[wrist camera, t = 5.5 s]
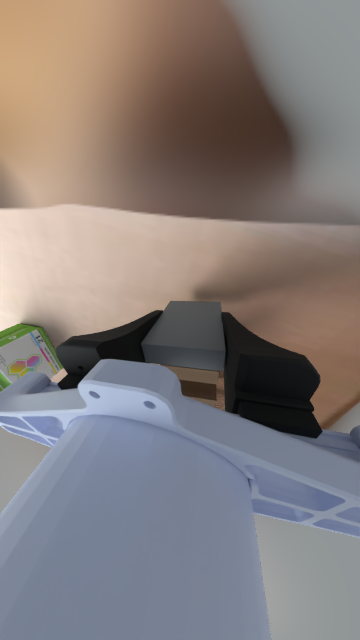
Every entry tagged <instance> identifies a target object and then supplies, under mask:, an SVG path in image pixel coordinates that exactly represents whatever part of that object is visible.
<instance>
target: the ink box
mask: <svg viewBox="0 0 360 640" xmlns="http://www.w3.org/2000/svg"><path fill="white" fill-rule="evenodd" d="M63 368H64V367H63V366H62V364H61V363H60V361H59V360H58V358H57V355H56V350H55V349H54V347H53V345H52V343H51V342H50V340H49V338H48V336H47V335H46V333H45V331H44V329H43V328H42V327H35V326H29V325H24V324H17V325H15V326H12V327H10V328H8V329H5V330H3V331H1V332H0V392H1V391H2V390H4V389H5V388H6V387H8V386H9V385H11V384H12V383H13V382H15V381H16V380H18V379H19V378H20V377H22V376H23V375H25V374H26V373H27V372H29V371H34V372H40V373H44V374H46V375H47V376H48V377H49V378H50V379H51V378H52V377H53V376H54V375H56V374H57V373H58V372H59V371H60V370H61V369H63Z"/></svg>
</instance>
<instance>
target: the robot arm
mask: <svg viewBox="0 0 360 640" xmlns="http://www.w3.org/2000/svg"><path fill="white" fill-rule="evenodd" d="M162 313H163V310H156V311H153V312H151V313H149V314H147V315H145V316H143V317H141V318H139V319H137V320H135V321H133V322H131V323H128V324H126V325H123V326H120V327H117V328H114V329H110V330H107V331H103V332H98V333H93V334H87V335H80V336H73V337H71V338H69V339H68V340H66V341H65V342H63V343H62V344H60V345H59V346H58V347H57V348H56V355H57V358H58V360H59V361H60V363H61V364H62V366H63V367H64V369H65V370H66V372H67V373H68V375H66V376H65V377H64V378H63V379H62V380H61V381H60V382H59V383H55V382H51V379H50V378H49V377H48V376H47V375H46V374H44V373H40V372H34V371H29V372H27V373H26V374H25V375H23V376H22V377H20V378H19V379H18V380H16V381H15V382H13V383H12V384H11V385H9V386H8V387H6V388H5V389H4V390H2V391H1V392H0V426H1V427H2V428H4V429H6V430H7V431H8V432H10V433H13V434H16V435H20V436H22V437H25V438H28V439H31V440H33V441H36V442H39V443H41V444H44V445H46V446H49V447H51V449H50V451H49V452H48V453H47V455H46V456H45V457H44V458H43V460H42V461H41V462H40V463H39V465H38V466H37V467H36V469H35V470H34V471H33V473H32V474H31V475H30V476H29V478H28V479H27V480H26V482H25V483H24V484H23V485H22V487H21V488H20V489H19V491H18V492H17V493H16V494H15V496H14V497H13V498H12V500H11V501H10V502H9V504H8V505H7V506H6V507H5V509H4V510H3V511H2V512H1V514H0V640H271V633H270V626H269V619H268V612H267V605H266V598H265V591H264V584H263V577H262V570H261V563H260V556H259V549H258V542H257V535H256V528H255V522H254V514H258V515H263V516H267V517H272V518H276V519H280V520H285V521H289V522H293V523H298V524H302V525H306V526H311V527H315V528H319V529H324V530H328V531H333V532H337V533H341V534H345V535H350V536H354V537H358V538H360V426H357V427H354V428H353V429H352V431H351V432H350V434H347V433H341V432H336V431H330V430H324V429H321V427H320V426H319V424H318V422H317V420H316V419H315V417H314V415H313V413H312V411H314V407H313V405H312V404H311V402H310V399H311V397H312V396H313V394H314V392H315V391H316V389H317V388H318V386H319V384H320V375H319V374H318V372H317V370H316V369H315V368H314V366H313V365H312V364H311V363H310V361H309V360H308V359H307V358H306V357H305V356H304V355H301V354H298V353H295V352H292V351H289V350H286V349H284V348H281V347H279V346H276V345H274V344H272V343H270V342H268V341H266V340H264V339H262V338H260V337H258V336H257V335H255V334H253V333H252V332H250V331H249V330H248V329H246V328H245V327H244V326H243V325H241V324H240V323H239V322H238V321H237V320H236V319H235V318H234V317H233V316H232V315H231V314H230V313H229V312H221V317H222V323H223V332H224V341H225V359H224V389H225V411H223V410H221V409H218V408H216V407H213V406H210V405H208V404H205V403H202V402H200V401H197V400H194V399H192V398H189V397H186V396H184V395H182V392H181V384H180V381H179V379H178V377H177V375H176V374H175V373H173V372H172V371H171V370H170V369H168V368H167V367H164V366H160V365H157V364H150V363H147V362H146V361H145V357H144V354H143V350H142V346H141V343H142V341H143V340H144V339H145V337H146V336H147V334H148V333H149V331H150V330H151V329H152V327H153V326H154V324H155V323H156V321H157V320H158V319H159V318H160V316H161V315H162ZM253 513H254V514H253Z"/></svg>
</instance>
